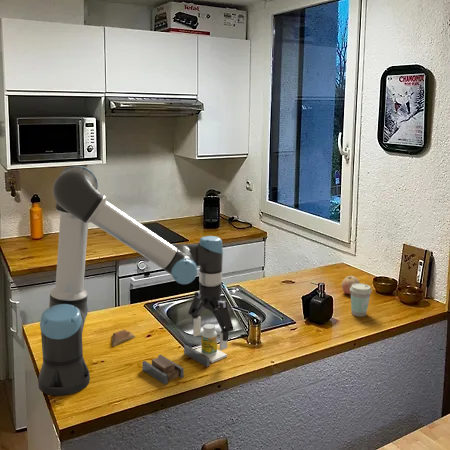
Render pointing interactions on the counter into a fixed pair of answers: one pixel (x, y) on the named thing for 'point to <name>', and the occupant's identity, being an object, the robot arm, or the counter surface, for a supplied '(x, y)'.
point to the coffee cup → (360, 299)
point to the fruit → (349, 283)
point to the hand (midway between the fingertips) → (209, 341)
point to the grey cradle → (164, 377)
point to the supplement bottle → (209, 340)
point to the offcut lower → (172, 374)
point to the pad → (214, 357)
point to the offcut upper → (163, 364)
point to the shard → (121, 337)
